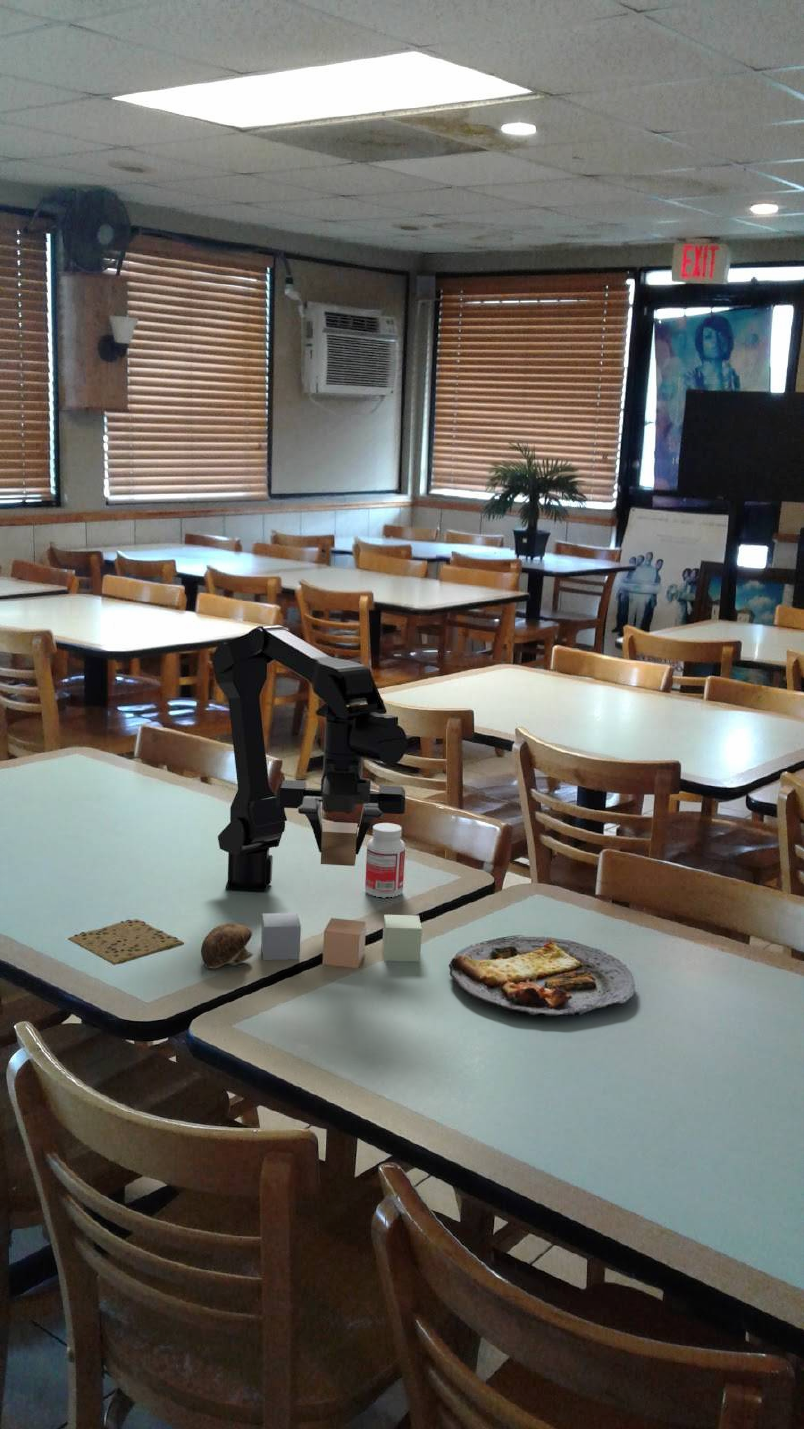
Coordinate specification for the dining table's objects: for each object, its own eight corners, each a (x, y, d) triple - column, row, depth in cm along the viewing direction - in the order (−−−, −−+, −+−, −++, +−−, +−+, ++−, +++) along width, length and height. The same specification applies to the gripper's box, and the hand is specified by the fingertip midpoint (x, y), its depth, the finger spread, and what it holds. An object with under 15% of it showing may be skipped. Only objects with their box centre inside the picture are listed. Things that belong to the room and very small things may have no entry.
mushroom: (275, 940, 174) (248, 906, 172) (246, 979, 168) (218, 944, 166) (238, 951, 179) (211, 918, 177) (208, 990, 173) (181, 956, 171)
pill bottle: (386, 883, 208) (390, 819, 206) (410, 894, 204) (414, 829, 202) (356, 890, 204) (360, 824, 202) (380, 901, 200) (384, 834, 198)
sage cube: (384, 961, 177) (386, 927, 176) (382, 947, 182) (384, 914, 181) (419, 962, 178) (422, 928, 176) (416, 948, 182) (418, 915, 181)
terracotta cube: (322, 964, 175) (324, 930, 174) (329, 951, 180) (331, 917, 178) (357, 968, 174) (359, 934, 173) (364, 954, 179) (366, 921, 178)
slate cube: (263, 960, 175) (264, 926, 174) (261, 946, 180) (262, 913, 179) (299, 960, 176) (300, 926, 175) (296, 946, 181) (297, 913, 180)
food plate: (507, 1038, 156) (509, 1012, 155) (418, 966, 176) (419, 943, 176) (666, 1007, 168) (668, 982, 167) (565, 943, 188) (567, 921, 187)
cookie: (64, 941, 178) (64, 934, 178) (136, 921, 187) (136, 915, 187) (113, 967, 170) (113, 961, 170) (186, 946, 179) (186, 939, 179)
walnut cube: (320, 864, 185) (322, 831, 184) (323, 853, 190) (324, 821, 189) (354, 865, 185) (356, 833, 184) (356, 855, 190) (357, 823, 189)
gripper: (273, 760, 176) (270, 866, 179) (407, 767, 176) (401, 874, 179) (281, 742, 187) (278, 843, 190) (407, 749, 187) (401, 849, 190)
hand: (338, 852), depth 187 cm, fingers closed on walnut cube, 5 cm apart
